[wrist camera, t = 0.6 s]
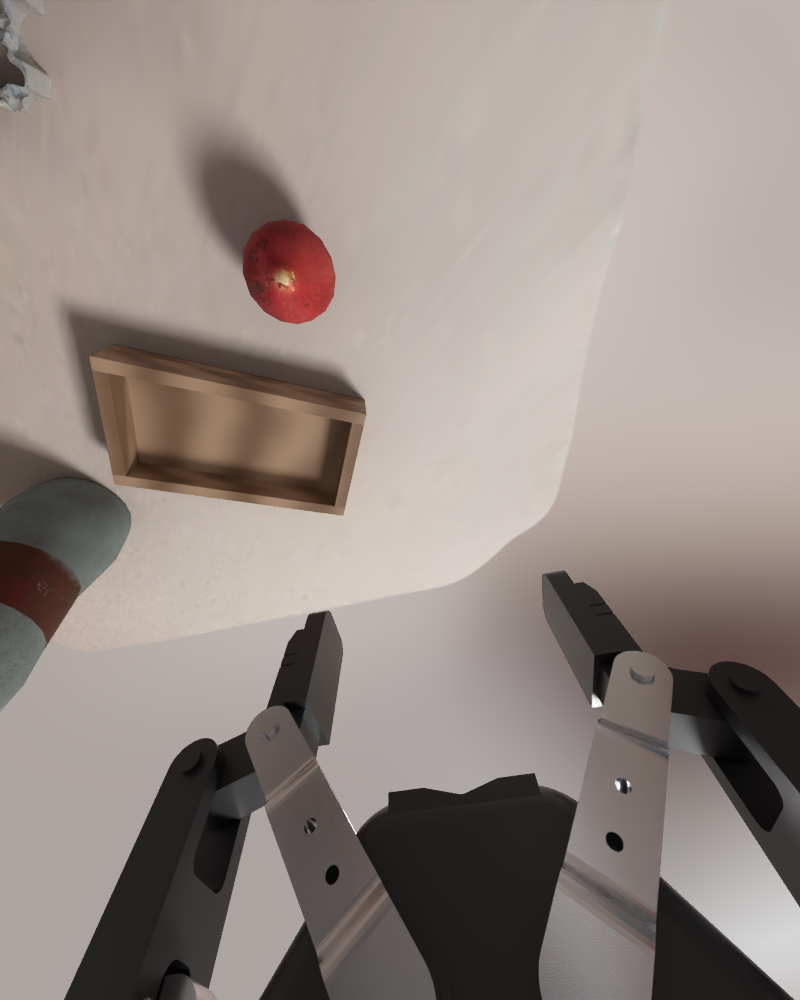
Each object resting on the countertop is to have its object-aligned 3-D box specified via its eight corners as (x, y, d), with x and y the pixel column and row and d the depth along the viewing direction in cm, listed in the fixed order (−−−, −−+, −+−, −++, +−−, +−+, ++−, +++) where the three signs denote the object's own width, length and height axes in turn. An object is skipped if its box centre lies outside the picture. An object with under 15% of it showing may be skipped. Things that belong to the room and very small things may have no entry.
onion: (272, 320, 29) (250, 343, 22) (242, 231, 25) (206, 227, 19) (344, 306, 29) (343, 325, 22) (324, 215, 25) (316, 206, 19)
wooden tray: (133, 464, 34) (114, 484, 31) (114, 344, 28) (89, 355, 25) (343, 495, 39) (343, 515, 36) (364, 399, 33) (366, 414, 30)
